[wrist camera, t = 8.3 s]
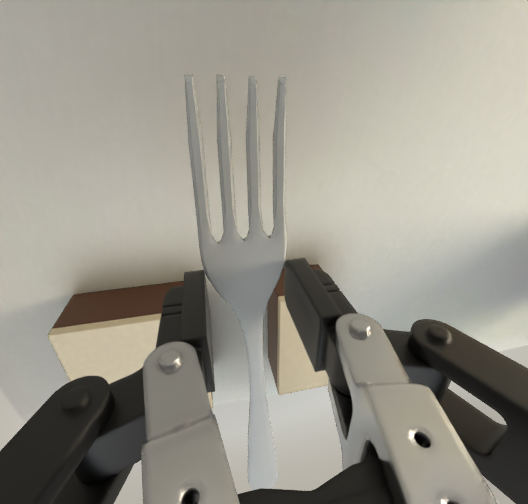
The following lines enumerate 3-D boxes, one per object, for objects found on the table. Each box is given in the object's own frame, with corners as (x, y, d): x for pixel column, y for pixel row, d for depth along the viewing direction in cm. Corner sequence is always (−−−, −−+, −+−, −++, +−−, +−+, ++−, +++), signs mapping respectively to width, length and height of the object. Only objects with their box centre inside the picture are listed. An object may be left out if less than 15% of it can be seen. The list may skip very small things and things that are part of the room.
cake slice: (268, 356, 25) (278, 395, 22) (266, 270, 21) (280, 301, 18) (310, 349, 26) (327, 385, 22) (318, 263, 22) (340, 293, 18)
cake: (110, 385, 23) (95, 432, 20) (72, 294, 19) (46, 335, 15) (210, 367, 24) (213, 408, 21) (197, 279, 20) (197, 313, 17)
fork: (240, 494, 19) (244, 528, 18) (171, 80, 8) (165, 74, 6) (286, 482, 20) (293, 514, 18) (284, 76, 8) (303, 70, 7)
